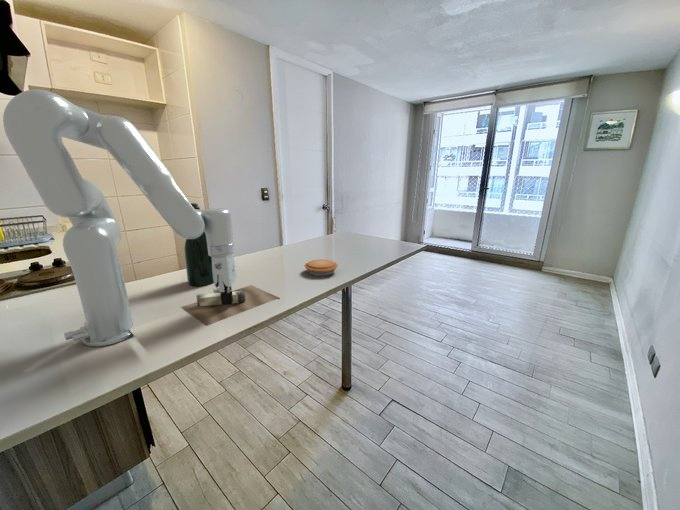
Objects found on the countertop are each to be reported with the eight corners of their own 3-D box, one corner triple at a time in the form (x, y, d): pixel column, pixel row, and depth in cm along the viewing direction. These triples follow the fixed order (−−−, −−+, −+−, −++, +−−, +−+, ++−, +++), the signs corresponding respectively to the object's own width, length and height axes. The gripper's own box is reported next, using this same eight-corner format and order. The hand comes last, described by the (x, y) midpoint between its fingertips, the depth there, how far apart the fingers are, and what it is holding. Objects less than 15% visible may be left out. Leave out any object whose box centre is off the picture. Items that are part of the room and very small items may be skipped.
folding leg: (196, 306, 91) (195, 297, 90) (198, 302, 94) (197, 293, 93) (245, 302, 94) (244, 293, 94) (245, 298, 97) (245, 289, 97)
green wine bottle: (205, 279, 120) (195, 201, 111) (222, 283, 116) (214, 202, 107) (182, 287, 111) (170, 203, 102) (201, 292, 107) (189, 205, 98)
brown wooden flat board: (206, 330, 80) (204, 316, 79) (181, 311, 92) (179, 298, 90) (279, 301, 99) (279, 289, 98) (251, 288, 111) (250, 278, 109)
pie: (300, 269, 134) (299, 259, 133) (329, 265, 141) (329, 256, 139) (310, 280, 121) (310, 269, 120) (343, 275, 127) (343, 264, 126)
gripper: (228, 255, 80) (234, 313, 85) (238, 243, 94) (243, 293, 99) (200, 256, 79) (208, 315, 84) (215, 244, 93) (221, 294, 98)
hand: (227, 303), depth 91 cm, fingers closed
